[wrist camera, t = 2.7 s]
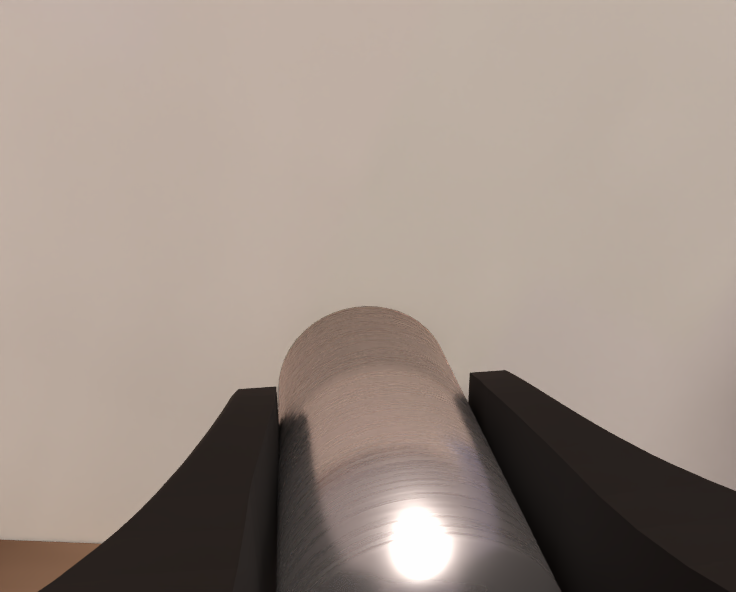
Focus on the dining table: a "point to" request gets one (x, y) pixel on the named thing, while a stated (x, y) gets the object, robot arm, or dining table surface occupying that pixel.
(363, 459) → the steel roller
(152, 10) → the dining table surface
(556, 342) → the dining table surface
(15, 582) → the walnut plate
